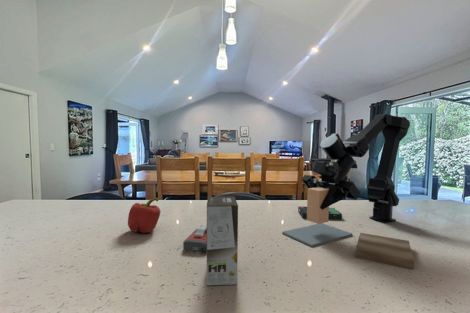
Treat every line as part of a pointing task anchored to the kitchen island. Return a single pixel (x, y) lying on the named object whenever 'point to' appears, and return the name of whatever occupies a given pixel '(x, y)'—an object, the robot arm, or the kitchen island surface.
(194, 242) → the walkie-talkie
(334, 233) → the slate grey mat
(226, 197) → the coffee box
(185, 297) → the kitchen island surface
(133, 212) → the vegetable
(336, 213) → the disk drive
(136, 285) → the kitchen island surface
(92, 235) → the kitchen island surface
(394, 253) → the plate
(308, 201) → the terracotta block
